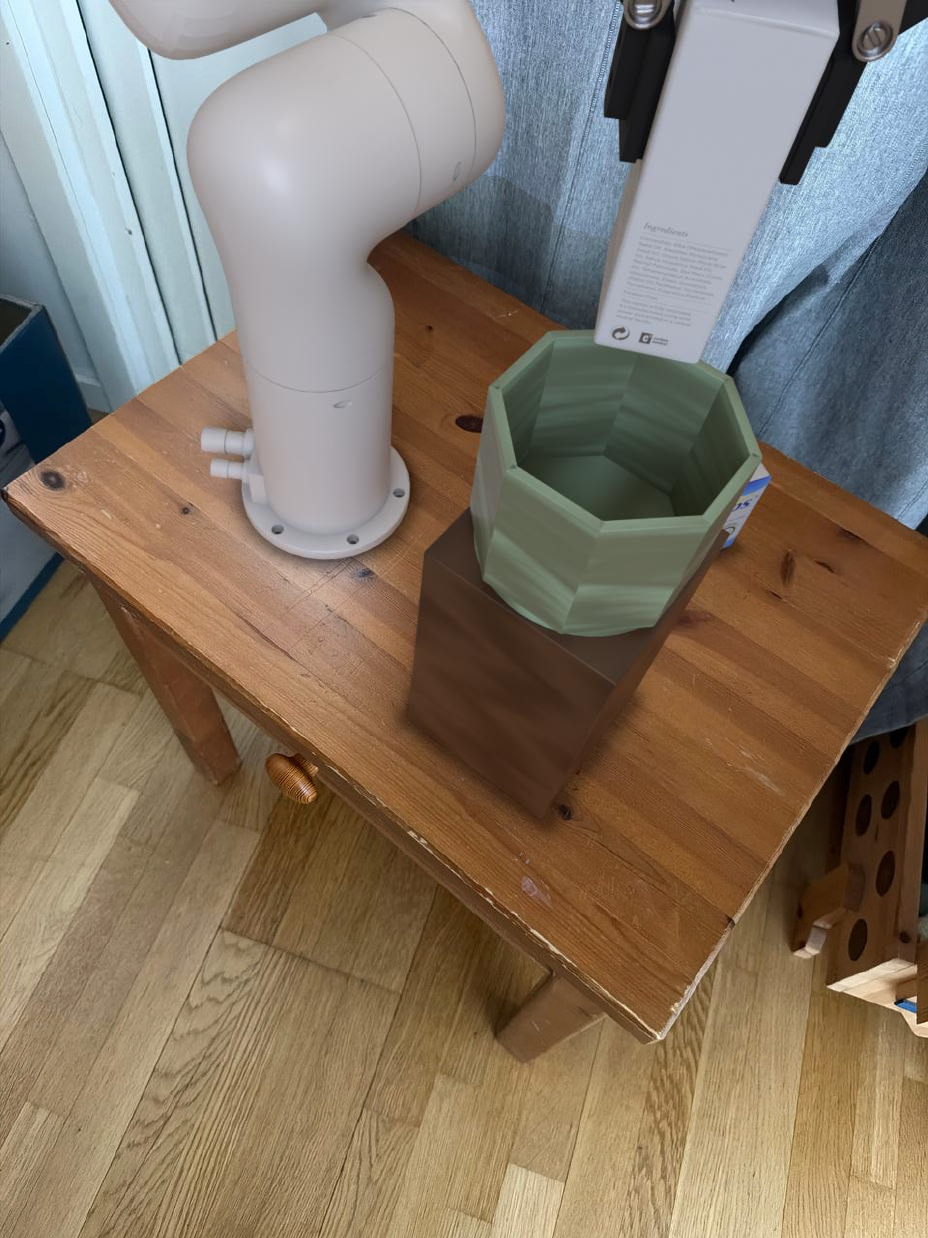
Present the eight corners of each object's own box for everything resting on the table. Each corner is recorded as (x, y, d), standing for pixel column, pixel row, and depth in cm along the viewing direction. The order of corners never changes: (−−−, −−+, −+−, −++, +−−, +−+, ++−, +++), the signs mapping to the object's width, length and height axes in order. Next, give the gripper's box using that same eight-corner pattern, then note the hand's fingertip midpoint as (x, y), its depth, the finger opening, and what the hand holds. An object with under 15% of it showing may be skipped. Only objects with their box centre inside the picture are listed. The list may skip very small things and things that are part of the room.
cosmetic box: (700, 369, 34) (844, 35, 24) (590, 346, 34) (686, 4, 24) (707, 266, 37) (837, -69, 27) (606, 246, 37) (697, -96, 27)
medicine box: (644, 577, 67) (678, 507, 60) (616, 531, 69) (646, 458, 62) (731, 547, 70) (775, 476, 62) (702, 503, 71) (741, 430, 64)
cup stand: (407, 719, 60) (434, 429, 35) (502, 610, 65) (586, 289, 40) (540, 820, 57) (672, 583, 33) (630, 699, 62) (803, 414, 37)
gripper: (1468, -854, 16) (929, 119, 32) (558, -1028, 16) (463, 53, 32) (1725, -836, 13) (973, 256, 28) (543, -1064, 12) (443, 184, 28)
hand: (706, 143), depth 30 cm, fingers closed on cosmetic box, 4 cm apart
